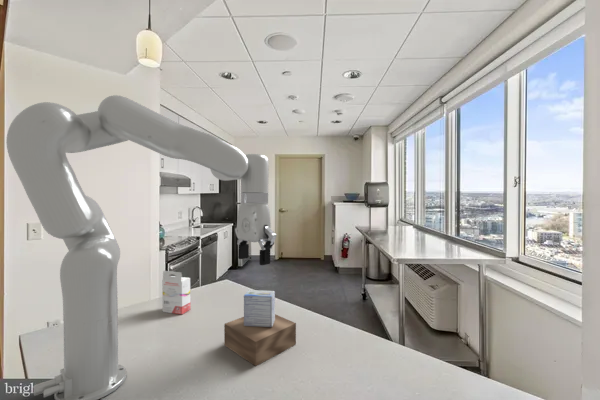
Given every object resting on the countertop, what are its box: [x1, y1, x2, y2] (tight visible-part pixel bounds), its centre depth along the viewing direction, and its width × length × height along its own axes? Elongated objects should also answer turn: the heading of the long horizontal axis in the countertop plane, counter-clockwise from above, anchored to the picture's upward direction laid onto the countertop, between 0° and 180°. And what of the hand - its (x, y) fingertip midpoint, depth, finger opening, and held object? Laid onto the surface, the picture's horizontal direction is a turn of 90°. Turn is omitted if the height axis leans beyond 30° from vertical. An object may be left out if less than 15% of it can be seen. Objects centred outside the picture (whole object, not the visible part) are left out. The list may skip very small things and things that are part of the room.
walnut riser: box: [223, 313, 297, 367], centre depth 80 cm, size 14×14×6 cm
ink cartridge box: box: [161, 270, 192, 315], centre depth 103 cm, size 9×5×15 cm, turn 73°
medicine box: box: [243, 289, 276, 327], centre depth 79 cm, size 8×4×9 cm, turn 85°
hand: (253, 261), depth 79 cm, fingers open, 9 cm apart
